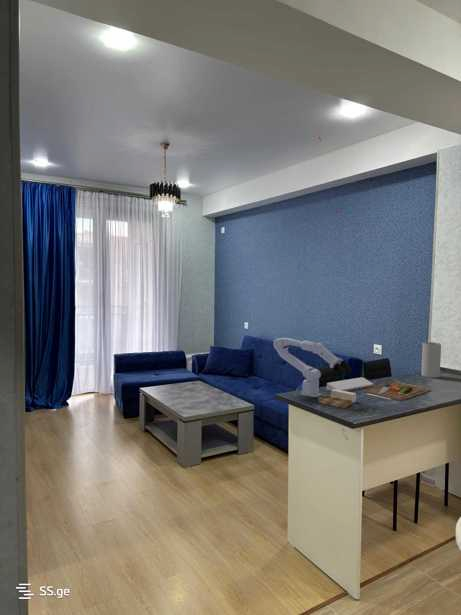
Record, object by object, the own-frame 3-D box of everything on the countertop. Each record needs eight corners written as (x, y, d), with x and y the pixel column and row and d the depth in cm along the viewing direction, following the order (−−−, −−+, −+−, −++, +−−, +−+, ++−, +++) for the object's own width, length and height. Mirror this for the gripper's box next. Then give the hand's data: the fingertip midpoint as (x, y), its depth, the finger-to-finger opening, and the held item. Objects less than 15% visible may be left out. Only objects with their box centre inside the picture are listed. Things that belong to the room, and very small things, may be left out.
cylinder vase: (443, 378, 302) (444, 344, 301) (427, 378, 300) (429, 344, 299) (432, 374, 314) (434, 342, 313) (417, 374, 313) (419, 342, 311)
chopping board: (399, 402, 237) (399, 397, 237) (358, 393, 258) (358, 388, 258) (433, 390, 266) (433, 386, 266) (394, 382, 287) (394, 378, 287)
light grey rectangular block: (330, 398, 243) (330, 390, 243) (334, 397, 246) (334, 388, 246) (352, 403, 234) (352, 394, 233) (355, 401, 237) (356, 393, 236)
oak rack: (318, 402, 233) (318, 397, 233) (325, 399, 240) (325, 394, 240) (344, 408, 223) (344, 403, 223) (351, 404, 230) (351, 399, 230)
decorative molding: (372, 390, 275) (360, 383, 283) (374, 384, 274) (362, 377, 282) (336, 397, 257) (325, 389, 264) (338, 390, 255) (327, 382, 263)
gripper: (327, 354, 234) (346, 370, 228) (338, 350, 245) (356, 364, 239) (321, 364, 237) (339, 379, 231) (332, 359, 248) (350, 373, 242)
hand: (348, 372), depth 235 cm, fingers open, 7 cm apart
